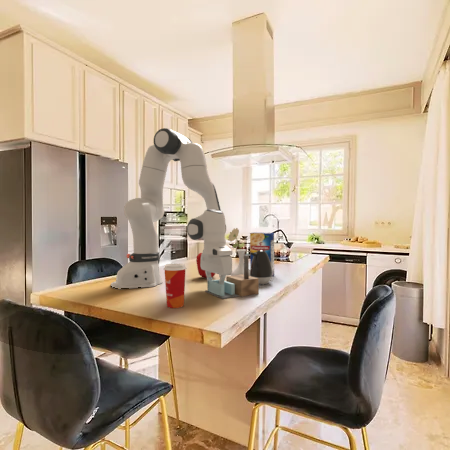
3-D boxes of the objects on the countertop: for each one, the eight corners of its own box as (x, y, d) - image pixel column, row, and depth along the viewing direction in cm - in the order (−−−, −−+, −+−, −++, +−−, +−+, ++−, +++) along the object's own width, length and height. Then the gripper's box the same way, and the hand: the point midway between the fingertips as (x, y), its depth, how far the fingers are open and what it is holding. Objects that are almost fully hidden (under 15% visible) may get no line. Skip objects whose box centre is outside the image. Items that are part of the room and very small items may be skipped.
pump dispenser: (245, 282, 145) (245, 249, 145) (265, 280, 150) (264, 248, 149) (256, 286, 136) (256, 251, 136) (276, 284, 140) (276, 250, 140)
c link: (207, 290, 127) (207, 280, 127) (220, 288, 130) (220, 279, 130) (221, 296, 117) (221, 285, 117) (234, 294, 120) (234, 283, 120)
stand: (241, 296, 119) (241, 256, 118) (226, 290, 128) (226, 254, 128) (258, 293, 123) (258, 255, 123) (242, 288, 132) (242, 253, 132)
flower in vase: (244, 274, 166) (243, 227, 165) (257, 277, 156) (257, 227, 156) (223, 277, 159) (222, 227, 158) (235, 280, 149) (235, 228, 149)
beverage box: (271, 277, 158) (270, 233, 157) (250, 275, 162) (249, 233, 162) (274, 274, 164) (274, 232, 164) (254, 273, 168) (254, 232, 168)
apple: (192, 277, 158) (192, 250, 157) (206, 275, 165) (206, 249, 165) (207, 280, 151) (207, 252, 150) (221, 277, 158) (221, 250, 158)
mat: (222, 299, 115) (222, 297, 115) (205, 291, 127) (205, 290, 127) (238, 296, 119) (238, 295, 119) (220, 289, 131) (220, 288, 131)
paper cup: (165, 303, 110) (164, 263, 110) (187, 302, 111) (186, 262, 111) (162, 309, 103) (162, 266, 102) (186, 308, 103) (185, 266, 103)
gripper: (196, 247, 134) (196, 280, 134) (220, 252, 116) (220, 289, 117) (209, 247, 137) (209, 278, 138) (234, 251, 120) (235, 287, 120)
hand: (215, 283), depth 127 cm, fingers open, 8 cm apart
